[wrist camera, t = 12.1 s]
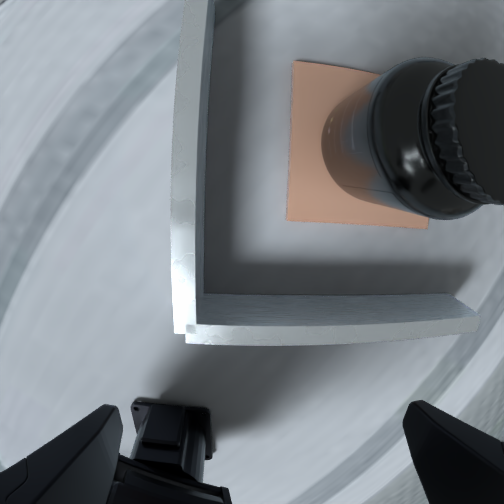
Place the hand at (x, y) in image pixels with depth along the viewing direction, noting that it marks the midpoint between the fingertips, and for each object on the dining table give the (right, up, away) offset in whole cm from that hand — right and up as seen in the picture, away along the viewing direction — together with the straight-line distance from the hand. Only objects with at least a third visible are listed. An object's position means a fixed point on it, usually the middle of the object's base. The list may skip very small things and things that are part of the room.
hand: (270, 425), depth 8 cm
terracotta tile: (+7, +12, +11) cm, 17 cm away
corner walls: (+6, +11, +11) cm, 16 cm away
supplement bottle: (+7, +12, +10) cm, 17 cm away
